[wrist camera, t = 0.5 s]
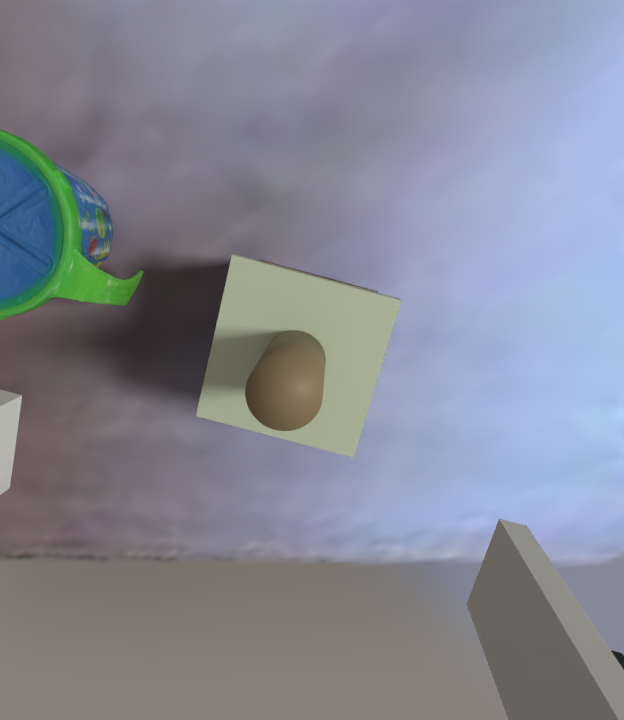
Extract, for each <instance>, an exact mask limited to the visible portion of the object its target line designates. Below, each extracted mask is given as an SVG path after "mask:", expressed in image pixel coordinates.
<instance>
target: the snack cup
mask: <svg viewBox="0 0 624 720" xmlns="http://www.w3.org/2000/svg"><path fill="white" fill-rule="evenodd" d="M112 235H113V229H112V221H111V218H110V215H109V212H108V206H107V204H106V203H105V201H104V199H103V198H102V197H101V196H100V195H99V194H98V193H97V192H96V191H95V190H94V189H93V188H92V187H90V186H89V185H88V184H87V183H86V182H84V181H83V180H81V179H79V178H78V177H77V176H75V175H73V174H71V173H70V172H68V171H67V170H65V169H63V168H62V167H60V166H58V165H57V164H55V163H53V162H52V161H51V160H50V159H49V158H48V157H47V156H46V155H45V154H43V153H42V152H41V151H40V150H39V149H38V148H37V147H35V146H34V145H32V144H31V143H29V142H27V141H25V140H23V139H22V138H20V137H18V136H16V135H13V134H11V133H8V132H5V131H2V130H0V320H3V319H6V318H8V317H9V316H14V315H18V314H22V313H25V312H28V311H31V310H33V309H35V308H37V307H40V306H41V305H43V304H45V303H47V302H48V301H49V300H51V299H52V298H55V297H58V298H66V299H71V300H77V301H80V302H82V301H83V302H90V303H98V304H109V305H120V306H125V305H126V304H127V303H128V301H129V300H130V298H131V297H132V295H133V293H134V292H135V290H136V288H137V286H138V284H139V282H140V280H141V278H142V276H143V273H144V272H143V271H142V270H140V271H139V272H138V273H137V274H135V275H133V276H131V277H129V278H128V279H124V280H120V279H118V278H115V277H113V276H112V275H110V274H108V273H106V272H104V271H102V270H100V269H98V268H99V267H100V266H101V265H102V264H103V262H104V261H105V259H106V258H107V257H108V255H109V253H110V251H111V242H112Z"/></svg>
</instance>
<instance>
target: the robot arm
mask: <svg viewBox="0 0 624 720" xmlns="http://www.w3.org/2000/svg"><path fill="white" fill-rule="evenodd" d="M21 400H22V395H19V394H15V393H11V392H7V391H3V390H0V495H1V494H2V493H3V492H5V491H6V490H7V489H9V488H10V482H11V474H12V467H13V459H14V452H15V445H16V437H17V430H18V422H19V415H20V407H21ZM467 606H468V610H469V612H470V615H471V618H472V620H473V623H474V626H475V629H476V631H477V634H478V637H479V640H480V642H481V645H482V648H483V651H484V653H485V656H486V659H487V662H488V664H489V667H490V670H491V673H492V675H493V678H494V681H495V684H496V686H497V689H498V692H499V694H500V697H501V700H502V703H503V705H504V708H505V711H506V714H507V716H508V719H509V720H624V656H623V655H622V654H621V653H619V652H615V651H611V650H610V649H609V647H608V646H607V644H606V643H605V641H604V640H603V638H602V637H601V635H600V634H599V633H598V631H597V629H596V628H595V626H594V625H593V623H592V622H591V620H590V619H589V618H588V616H587V615H586V613H585V612H584V610H583V609H582V607H581V606H580V604H579V603H578V601H577V600H576V598H575V597H574V595H573V594H572V592H571V591H570V589H569V588H568V586H567V585H566V584H565V582H564V580H563V579H562V578H561V576H560V575H559V573H558V572H557V570H556V569H555V567H554V566H553V564H552V563H551V561H550V560H549V558H548V557H547V555H546V554H545V552H544V551H543V549H542V548H541V546H540V545H539V543H538V542H537V540H536V539H535V537H534V536H533V535H532V533H531V532H530V530H529V529H528V527H527V526H525V525H521V524H518V523H514V522H510V521H506V520H502V519H499V521H498V524H497V526H496V529H495V531H494V534H493V537H492V539H491V542H490V544H489V547H488V550H487V552H486V555H485V558H484V560H483V563H482V566H481V568H480V571H479V573H478V576H477V579H476V581H475V584H474V586H473V589H472V592H471V594H470V597H469V600H468V602H467Z"/></svg>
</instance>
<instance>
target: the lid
mask: <svg viewBox="0 0 624 720" xmlns="http://www.w3.org/2000/svg"><path fill="white" fill-rule="evenodd" d="M400 304H401V300H400V299H399V298H396V297H392V296H388V295H385V294H381V293H377V292H373V291H370V290H366V289H362V288H359V287H355V286H351V285H348V284H344V283H340V282H337V281H333V280H329V279H325V278H322V277H318V276H314V275H311V274H307V273H303V272H300V271H296V270H292V269H289V268H285V267H281V266H277V265H274V264H270V263H266V262H263V261H259V260H255V259H252V258H248V257H244V256H241V255H237V254H234V255H232V257H231V262H230V266H229V271H228V275H227V280H226V284H225V288H224V293H223V297H222V302H221V306H220V311H219V315H218V320H217V324H216V329H215V333H214V338H213V342H212V346H211V351H210V355H209V360H208V364H207V369H206V373H205V378H204V382H203V387H202V391H201V396H200V400H199V404H198V409H197V413H196V416H198V417H202V418H206V419H209V420H213V421H217V422H221V423H225V424H228V425H232V426H236V427H240V428H243V429H247V430H251V431H255V432H258V433H262V434H266V435H270V436H274V437H277V438H281V439H285V440H289V441H292V442H296V443H300V444H304V445H308V446H311V447H315V448H319V449H323V450H326V451H330V452H334V453H338V454H341V455H345V456H349V457H353V458H354V455H355V451H356V448H357V445H358V442H359V438H360V435H361V432H362V429H363V425H364V422H365V419H366V415H367V412H368V409H369V406H370V402H371V399H372V396H373V392H374V389H375V386H376V383H377V379H378V376H379V373H380V370H381V366H382V363H383V360H384V356H385V353H386V350H387V347H388V343H389V340H390V337H391V334H392V330H393V327H394V324H395V320H396V317H397V314H398V311H399V307H400Z"/></svg>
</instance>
